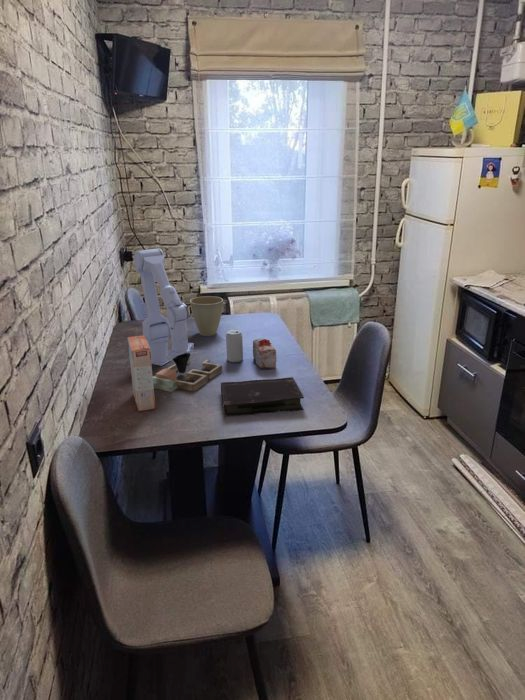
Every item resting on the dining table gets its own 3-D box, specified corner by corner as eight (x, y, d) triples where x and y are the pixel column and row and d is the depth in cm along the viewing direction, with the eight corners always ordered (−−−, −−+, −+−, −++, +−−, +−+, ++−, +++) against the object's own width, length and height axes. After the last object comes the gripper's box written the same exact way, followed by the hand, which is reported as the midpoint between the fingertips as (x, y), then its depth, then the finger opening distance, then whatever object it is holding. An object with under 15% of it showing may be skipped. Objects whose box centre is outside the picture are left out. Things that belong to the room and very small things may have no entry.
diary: (221, 394, 167) (220, 380, 166) (292, 388, 171) (292, 375, 169) (225, 419, 150) (224, 404, 148) (304, 412, 153) (304, 398, 152)
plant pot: (223, 338, 218) (221, 304, 213) (190, 339, 219) (187, 304, 213) (225, 328, 232) (224, 295, 227) (194, 328, 233) (192, 296, 227)
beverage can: (240, 363, 191) (239, 334, 186) (225, 362, 192) (223, 333, 188) (244, 357, 196) (243, 329, 192) (229, 356, 198) (228, 328, 193)
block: (157, 386, 172) (155, 373, 171) (165, 381, 176) (164, 368, 175) (168, 389, 170) (167, 375, 168) (177, 383, 174) (176, 370, 173)
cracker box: (157, 409, 156) (150, 348, 149) (137, 412, 154) (130, 350, 147) (151, 391, 168) (145, 334, 161) (133, 394, 167) (126, 336, 159)
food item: (279, 369, 185) (278, 344, 182) (258, 371, 183) (258, 347, 180) (268, 356, 198) (268, 333, 194) (249, 358, 196) (249, 335, 192)
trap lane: (148, 387, 172) (147, 376, 170) (187, 362, 193) (187, 352, 191) (188, 395, 165) (187, 384, 163) (225, 369, 186) (224, 359, 184)
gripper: (176, 345, 168) (179, 381, 173) (199, 333, 181) (201, 367, 185) (160, 342, 171) (163, 378, 176) (183, 330, 183) (186, 364, 188)
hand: (182, 372), depth 181 cm, fingers closed
